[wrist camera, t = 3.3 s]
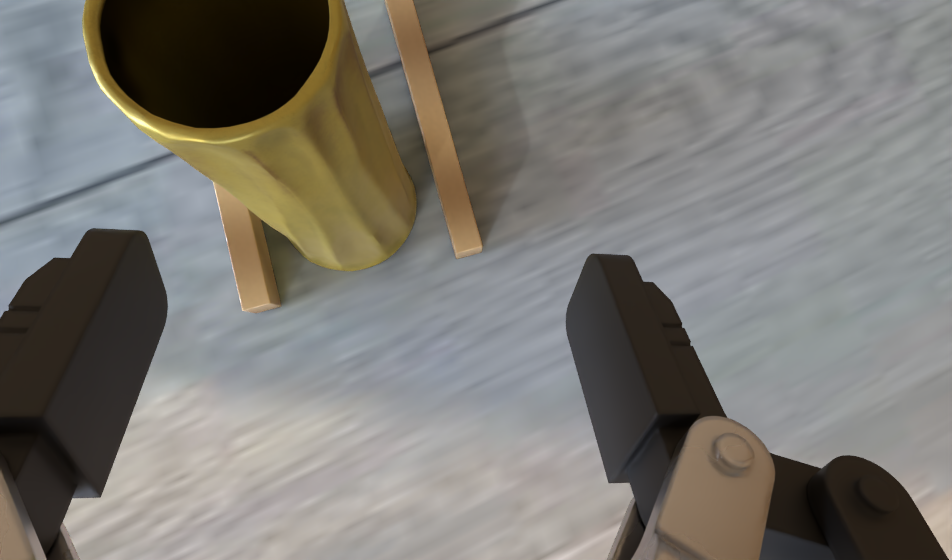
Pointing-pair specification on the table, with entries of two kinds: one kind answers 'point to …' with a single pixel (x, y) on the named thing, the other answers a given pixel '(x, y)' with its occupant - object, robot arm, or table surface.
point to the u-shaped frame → (464, 234)
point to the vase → (263, 114)
